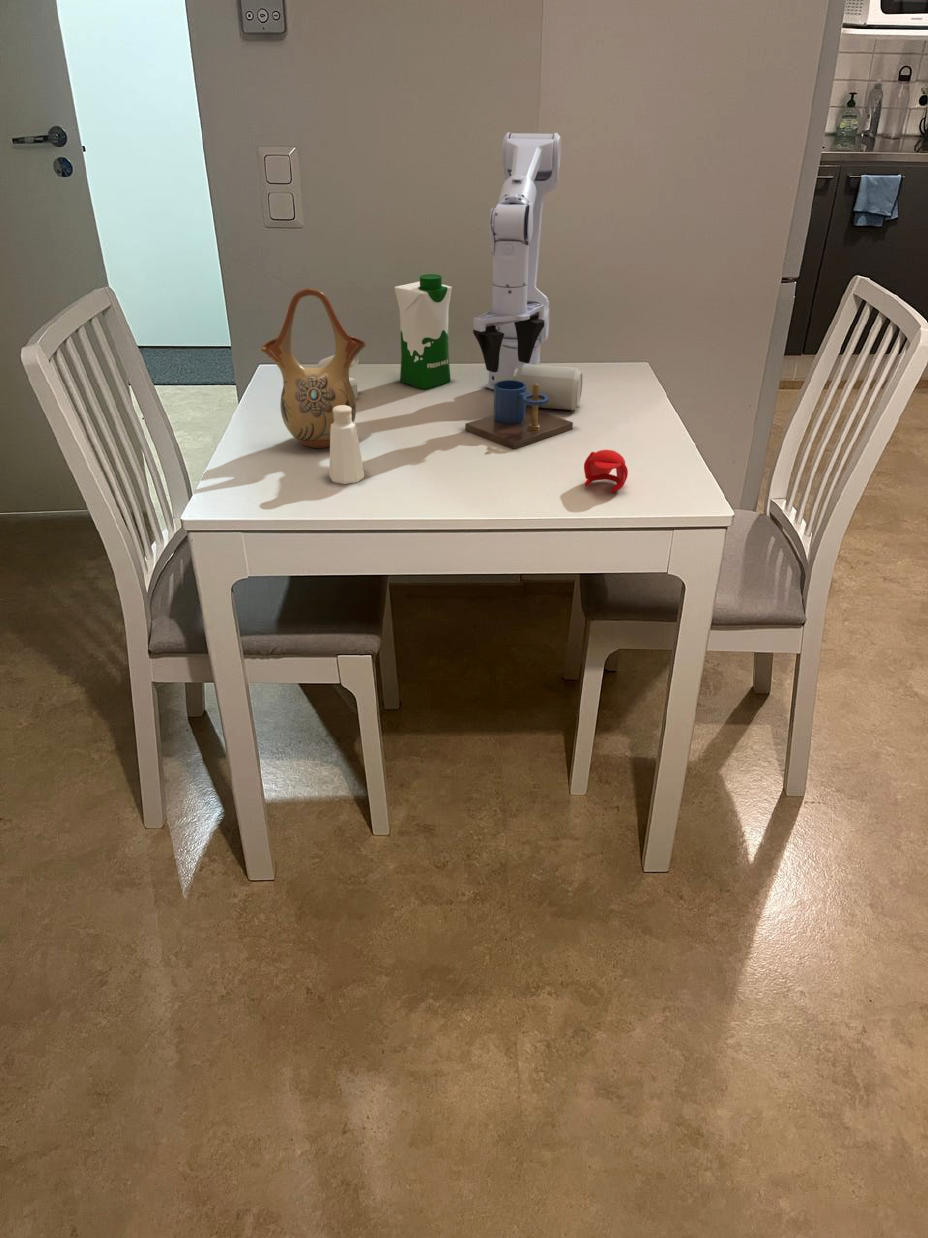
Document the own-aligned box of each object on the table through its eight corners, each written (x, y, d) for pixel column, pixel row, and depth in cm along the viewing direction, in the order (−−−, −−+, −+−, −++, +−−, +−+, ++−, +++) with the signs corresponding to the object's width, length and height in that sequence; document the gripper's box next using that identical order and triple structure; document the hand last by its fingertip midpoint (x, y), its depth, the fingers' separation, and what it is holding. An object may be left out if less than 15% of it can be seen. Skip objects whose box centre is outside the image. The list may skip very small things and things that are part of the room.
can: (584, 380, 174) (519, 375, 177) (581, 359, 167) (514, 355, 170) (578, 417, 173) (513, 412, 175) (575, 398, 165) (507, 393, 168)
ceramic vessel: (369, 431, 162) (360, 279, 149) (373, 451, 155) (364, 292, 142) (271, 437, 160) (254, 283, 147) (271, 457, 153) (252, 296, 140)
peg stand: (465, 429, 163) (465, 378, 158) (523, 411, 171) (524, 362, 166) (514, 449, 155) (515, 396, 151) (572, 428, 163) (575, 377, 159)
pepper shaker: (331, 470, 148) (326, 401, 142) (366, 470, 148) (362, 401, 142) (326, 484, 144) (320, 413, 138) (362, 484, 143) (358, 413, 138)
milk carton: (424, 391, 180) (421, 282, 170) (392, 381, 186) (388, 274, 175) (457, 381, 186) (456, 274, 175) (426, 371, 191) (423, 267, 181)
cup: (487, 418, 164) (488, 384, 161) (509, 411, 167) (510, 378, 164) (532, 435, 157) (533, 400, 154) (554, 427, 160) (556, 392, 157)
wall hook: (338, 355, 168) (297, 346, 173) (341, 408, 173) (301, 397, 178) (370, 344, 173) (329, 335, 178) (372, 395, 178) (333, 386, 183)
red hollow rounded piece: (579, 477, 145) (581, 440, 142) (617, 476, 146) (621, 439, 143) (588, 499, 139) (591, 460, 135) (629, 498, 139) (632, 459, 136)
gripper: (494, 294, 149) (493, 380, 156) (558, 280, 157) (554, 362, 164) (464, 287, 153) (464, 370, 160) (528, 274, 162) (525, 354, 169)
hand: (508, 366), depth 163 cm, fingers open, 7 cm apart
